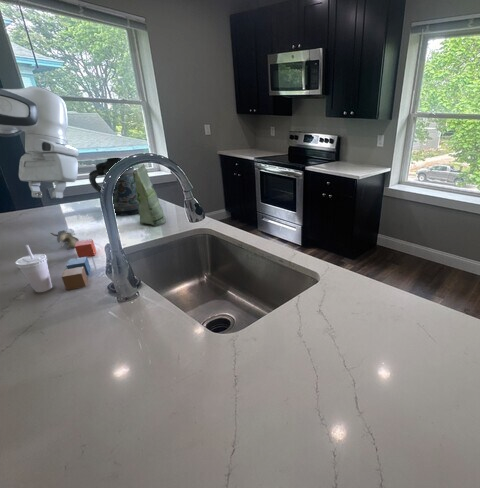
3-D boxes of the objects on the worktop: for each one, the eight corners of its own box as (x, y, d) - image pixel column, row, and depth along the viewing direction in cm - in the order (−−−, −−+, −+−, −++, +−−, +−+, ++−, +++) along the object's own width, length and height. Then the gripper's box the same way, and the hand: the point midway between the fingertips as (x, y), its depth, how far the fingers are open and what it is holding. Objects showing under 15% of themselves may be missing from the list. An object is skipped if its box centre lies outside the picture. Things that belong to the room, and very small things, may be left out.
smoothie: (45, 295, 83) (25, 250, 77) (22, 294, 83) (0, 249, 77) (63, 283, 88) (46, 240, 82) (42, 282, 88) (23, 239, 82)
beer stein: (156, 208, 150) (145, 157, 139) (118, 220, 134) (103, 164, 123) (134, 203, 156) (122, 154, 145) (95, 214, 140) (78, 159, 129)
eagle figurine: (46, 243, 108) (52, 246, 103) (53, 224, 109) (59, 226, 104) (72, 248, 114) (79, 251, 109) (78, 230, 115) (86, 232, 110)
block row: (66, 290, 85) (61, 277, 83) (80, 252, 106) (76, 241, 104) (86, 286, 87) (81, 273, 85) (96, 250, 108) (92, 239, 106)
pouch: (148, 229, 126) (134, 170, 115) (132, 223, 132) (118, 166, 121) (172, 222, 135) (161, 166, 124) (157, 216, 140) (145, 162, 129)
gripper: (10, 147, 85) (11, 195, 86) (56, 144, 79) (56, 196, 79) (38, 153, 91) (38, 198, 92) (82, 150, 85) (82, 199, 85)
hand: (47, 197), depth 86 cm, fingers open, 8 cm apart
